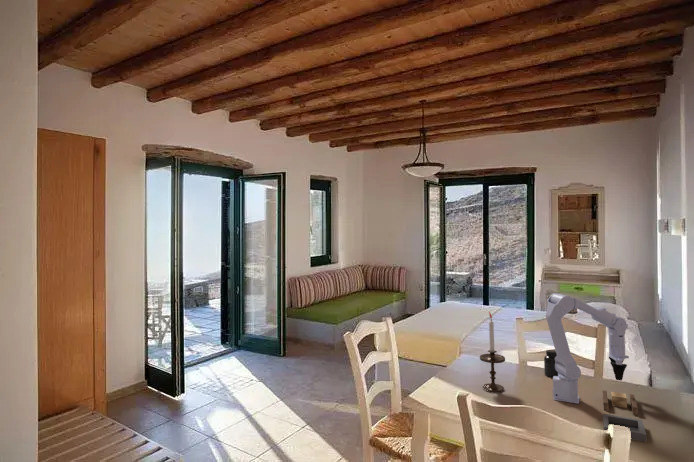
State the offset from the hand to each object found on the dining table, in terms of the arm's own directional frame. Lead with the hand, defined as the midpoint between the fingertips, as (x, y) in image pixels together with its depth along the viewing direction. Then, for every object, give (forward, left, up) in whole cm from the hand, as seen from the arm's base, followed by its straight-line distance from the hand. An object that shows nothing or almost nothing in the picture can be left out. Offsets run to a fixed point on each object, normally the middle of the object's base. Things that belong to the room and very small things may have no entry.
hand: (618, 376), depth 176 cm
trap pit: (0, -33, -8) cm, 34 cm away
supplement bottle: (-26, +17, -9) cm, 32 cm away
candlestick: (-48, -13, -9) cm, 51 cm away
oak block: (0, -8, -9) cm, 12 cm away
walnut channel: (0, -10, -8) cm, 13 cm away
